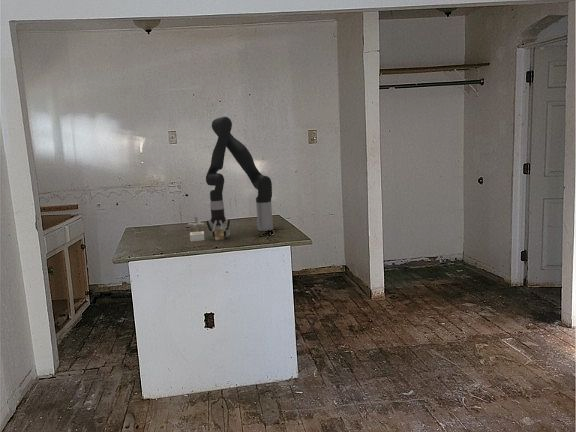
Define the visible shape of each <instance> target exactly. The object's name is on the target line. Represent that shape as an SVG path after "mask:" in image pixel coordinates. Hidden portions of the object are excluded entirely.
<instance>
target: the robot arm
mask: <svg viewBox="0 0 576 432" xmlns="http://www.w3.org/2000/svg"><path fill="white" fill-rule="evenodd" d="M232 127H233V123H232V120H231V119H230V117H228V116H221V117H217V118H214V119H213V120H212V122H211V128H212V131H213V132H214V133H215V135H216V136H217V140H216V144H215V146H214V147H213V151H212V154H211V160H210V166H209V168H208V170H207V172H206V175H205V183H206V184H207V185H208V186H211V187H214V189H211V190H210V191H209V199H210V204H209V205H210V207H209V208H210V215H211V216H210V217H211V218H210V219H207V220H206V221H205V222H206V225H207V228H208V231H209V232H210V231H211V232H212V237H213V239H215V230H216V227H218V226H220V227H222V228H223V230H224V238H226V237H227V236H226V230H228V229H229V228H230V225H231V223H230V222H231V219H230V218H226V217H225V204H224V199H223V191H224V186H225V177H224V175H223V174H222V173H218V171H220V170H223V167H224V161H225V155H226V150H228V151H229V152H230V153H231V155H232V157H233V158H234V160H235V161H236V162H237V163H238V165H239V166H240V168H241V170H242V171H244V172H245V174H246V175H247V177H248V179H249V180H250V183H251V184H252V186H253V188H254V189H256V191H257V197H256V198H255V203H256V204H255V206H256V219H257V230H258V231H259V232H266V231H267V232H268V230H269V231H273V230H274V220H273V209H272V208H273V207H272V197H273V183H272V180H271V177H270V176H268V175H264V174H262V172H260V170H259V169H258V168H257V166H256V164H255V161H254V158H253V155H252V153H250V151H249V149H248V148H247V147H246V145H245V144H243V143H242V142H241V141H240V140H238V139H237V138H235V137H234V135H233V134H232V133H231V131H232V129H233V128H232ZM225 222H226V226H225ZM211 224H212V225H213V226H211ZM225 227H226V228H225ZM225 236H226V237H225Z"/></svg>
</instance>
